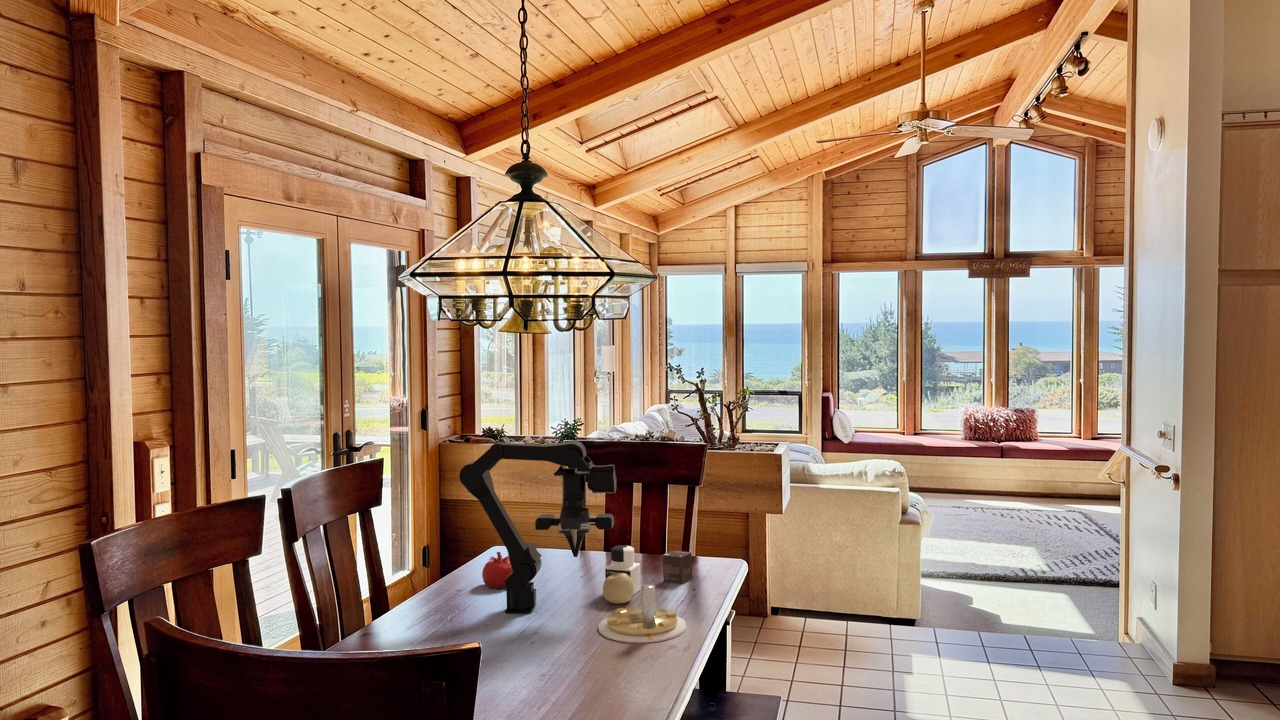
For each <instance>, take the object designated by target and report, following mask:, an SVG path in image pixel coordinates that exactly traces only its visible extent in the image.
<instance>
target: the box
mask: <svg viewBox="0 0 1280 720" xmlns="http://www.w3.org/2000/svg"><path fill="white" fill-rule="evenodd" d="M692 559H693V558H692V552H691V551H684V550H683V551H682V550H681V551H680V550H675V549H674V550H670V551H668V552H665V553H664V554H662V575H663V576H662V578H663V582H668V581H669V582H668V583H675V582H676V583H678V584H685V583H686V582H687V581H690V580H691V578H692V579H693V564H692V563H693V562H692V561H693V560H692Z"/></svg>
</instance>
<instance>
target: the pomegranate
mask: <svg viewBox="0 0 1280 720" xmlns="http://www.w3.org/2000/svg"><path fill="white" fill-rule="evenodd" d="M501 553H502V552H501V551H497V552H496V555H497V557H494V556H490V557H489V559H488V561H487V562H486V563H485V564H484V566H483V569H482V572H481V575H482V576H481V577H482V582H483V583H484V585H485V586H486V587H488V588H490V587H491V588H490V589H494V588H496V589H503V588H505V589H506V585H505V582H504V581H505V580H506V579H507V577H508V576H509V575H510V574H511V573H512V571H513V570H512V567H511V565H510V561H509V556H505V557H503V554H501Z"/></svg>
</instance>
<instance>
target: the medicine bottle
mask: <svg viewBox="0 0 1280 720" xmlns="http://www.w3.org/2000/svg"><path fill="white" fill-rule="evenodd" d="M610 560H611V561H610V563H611V564H609V565H608V566H607V567H605V569H604V570H605V571H604V574H605V579H606V578H607V577H609V576H610V575H613V574H617V573H625V574H627V575H628V576H629V577H630V578H631V579H632V581H633V584H634V592H633V596H634V595H636V594H637V593H638V592H639V591H642V585H641V581H642V579H641V563H639V562H635V548H634V547H632V546H630V545H628V544H625V545H623V544H621V545H615V546H614V547H612V548H611V549H610Z"/></svg>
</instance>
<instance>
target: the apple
mask: <svg viewBox="0 0 1280 720" xmlns="http://www.w3.org/2000/svg"><path fill="white" fill-rule="evenodd" d="M633 592H634V584H633V581H632V579H631V578H630V577H629V576H628V575H627V574H625V573H617V574H613V575H610V576H609V577H607V578H606V577H605V580H604V582H603V584H602V594H603V597H604V598H605V600H606V601H608V602H609V603H611V604H617V605H618V604H620V605H621V603H622V604H626V603H628V602H629V601H630V600H632V597H633V596H634V595H633Z"/></svg>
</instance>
